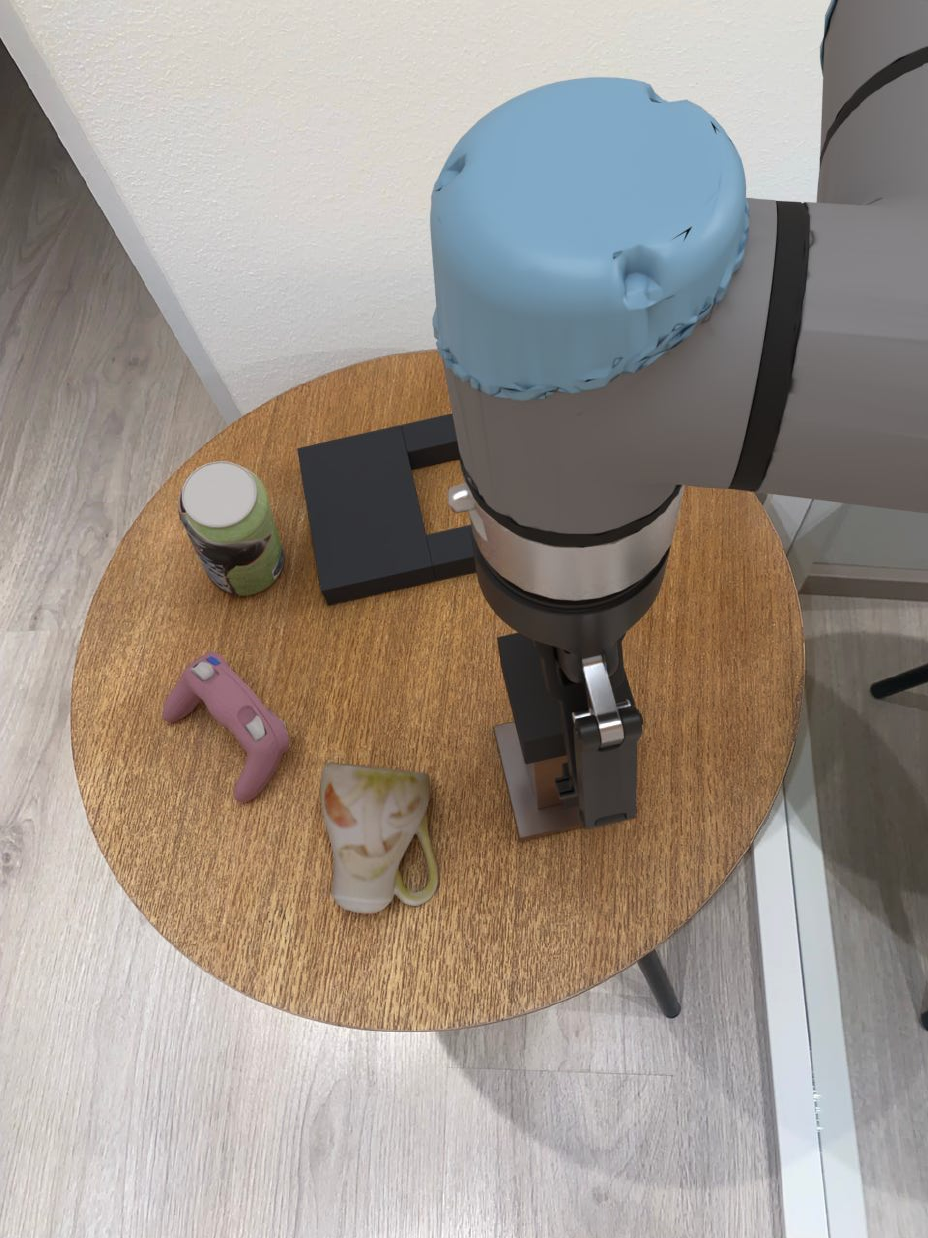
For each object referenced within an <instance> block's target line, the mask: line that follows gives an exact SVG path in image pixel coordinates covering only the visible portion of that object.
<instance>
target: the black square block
mask: <svg viewBox="0 0 928 1238" xmlns="http://www.w3.org/2000/svg"><path fill="white" fill-rule="evenodd" d="M496 640H497V648H498V654H499V664H500V669H501V673H502V677H503V680H504V685H505V689H506V693H507V698H508V701H509V706H510V709H511V713H512V718H513V722H515V726H516V730H517V734H518V738H519V742H520V746H521V750H522V754H523V758H524V762H525V764H531V763H535V762H539V761H544V760H548V759H553V758H557V757H561V756H566V749H565V742H564V736H563V729H562V722H561V716H560V709H559V703H558V700H554V699H552V698H551V697H550V695H549V692H548V689H547V686H546V683H545V680H544V677H543V672H542V665H541V659H540V656H538V654H537V652H536V649H535V646H534V643H533V640H532V639H530V638H528V637H526V636H524V635H522V634H520V633H518V632H514V633H510V634H506V635H500V636H497V637H496ZM555 661H556V659H555ZM556 667H557V668H561V667H560V666H559V664H558V663H557V661H556ZM624 674H625V678H624V681H623V683H622V684H621V685H619V686H618V687H617V688H616V689H615V698H616V702H617V701H622V700H626V699H628V700H629V701H630V704H631V706H633V705H635V706H636V707H637V705H636V702H635V699H634V696H633V693H632V689H631V685H630V683H629V679H628V676H627V672H626V670H625V668H624Z"/></svg>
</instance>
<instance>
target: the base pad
mask: <svg viewBox="0 0 928 1238" xmlns="http://www.w3.org/2000/svg"><path fill="white" fill-rule="evenodd" d="M296 450H297V456H298V457H297V458H298V462H299V466H300V467H299V469H300V475H301V480H302V481H301V482H302V486H303V492H304V493H303V494H304V498H305V505H306V511H307V517H308V523H309V528H310V534H311V541H312V548H313V553H314V559H315V564H316V571H317V577H318V583H319V589H320V593H321V595H322V597H323V599H324V601H325V603H326V604H327V606H332V605H336V604H342V603H345V602H349V601H354V600H358V599H362V598H368V597H372V596H375V595H381V594H384V593H389V592H393V591H398V590H403V589H407V588H411V587H415V586H416V587H417V586H420V585H425V584H428V583H433V582H436V581H437V582H439V581H442V580H446V579H451V578H456V577H459V576H464V575H469V574H473V573H476V566H475V560H474V553H473V547H472V540H471V524H467V525H463V526H459V527H454V528H449V529H445V530H441V531H437V532H432V533H428V534H427V533H426V529H425V524H424V519H423V515H422V511H421V507H420V502H419V497H418V492H417V488H416V484H415V480H414V475H413V471H412V470H416V469H420V468H424V467H428V466H433V465H437V464H442V463H447V462H452V461H456V460H460V452H459V446H458V441H457V436H456V430H455V425H454V420H453V414H452V412H451V413H448V414H443V415H439V416H434V417H430V418H425V419H421V420H417V421H412V422H407V423H403V424H399V425H394V426H390V427H385V428H380V429H376V430H372V431H368V432H364V433H359V434H355V435H350V436H345V437H340V438H337V439H332V440H327V441H322V442H319V443H313V444H309V445H306V446H301V447H298V448H296Z"/></svg>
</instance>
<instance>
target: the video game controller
mask: <svg viewBox="0 0 928 1238" xmlns="http://www.w3.org/2000/svg"><path fill="white" fill-rule="evenodd" d="M201 702H204V705H205V706H206V709H207V710H208V712H209V714H210V716H211V717H213V719H215V720H216V722H217V723H218V724H219V725H222V726H223V727H225V728H227V729H228V730H229V731H230V732H231V733H232V734H233V736H234V737H235V738H236V740H237V741H238V743H239V745H240V747H241V748H242V749H243V751H244V752H245V753H246V754H247V755H246V756H247V757H246V760H245V763H244V766H243V768H242V771H241V773H240V775H239V777H238V779H237V781H236V783H235V785H234V790H233V791H234V792H233V798H234V800H235V801H236V802H237V803H241V804H242V803H247V802H249V801H252V800H253V799H254V798H255V797H257V796H258V795H259V794H260V793H261V792H262V790H264V788H265V787H266V786H267V784H268V783H269V782H270V780H271V779H272V777H273V776H274V774H275V772H276V770H277V768H278V766H279V764H280V762H281V759H282V757H283V755H284V753H286V752H287V751H288V750H290V749H289V748H290V744H291V743H290V736H289V734H288V729H287V725H286V722H285V721H284V720H283V719H281V718H280V717H279V716H278V715H277V714H276V713H274V712H273V711H272V710H271V709H269V708H267V707H266V706H265V705H264V703H263V702H262V700H261V699H260V698H259V696H257V694H256V693H255V692H254V691H253V690H252V689H251V688H250V686H249V685H248V684H247V683H246V682H245V681H244V679H242V678H241V677H240V676H239V675H238V674H237V673H236V672H235V671H234V670H233V669H232V668H231V667H230V665H229V664H228V662H227V661H226V660H225V658H224V657H223V656H222V655H221V654H219V653H217V651H212V650H211V651H209V652H207V653H204V654H203V655H201V656H199V657H197V658H195V659H194V660H193V661H192V662H191V663H190V664H188V665H187V666H186V667H185V668H184V670H183V671H182V672H181V674H180V676H179V678H178V680H177V681H176V684H175V685H174V687H173V688H172V690H171V692H170V693H169V695H168V696H167V698H166V700H165V702H164V704H163V708H162V713H161V715H162V718H163V720H164V721H165V722H167V723H175V722H178V721H180V720H181V719H183V718H185V717H187V716H188V715H189V714H190V713H191V712H192V711H193V710H194V709H195V708H196V707H197V706H198V705H199V704H200V703H201Z"/></svg>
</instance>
